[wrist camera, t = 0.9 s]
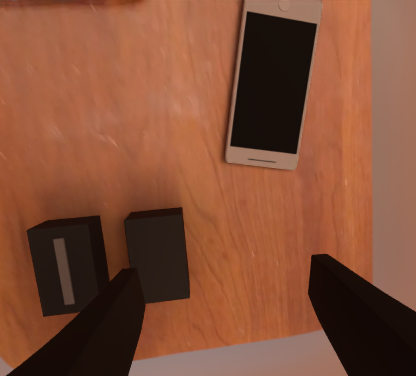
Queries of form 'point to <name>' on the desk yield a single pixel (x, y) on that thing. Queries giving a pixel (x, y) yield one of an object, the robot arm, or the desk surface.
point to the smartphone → (272, 82)
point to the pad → (159, 253)
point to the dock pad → (68, 263)
